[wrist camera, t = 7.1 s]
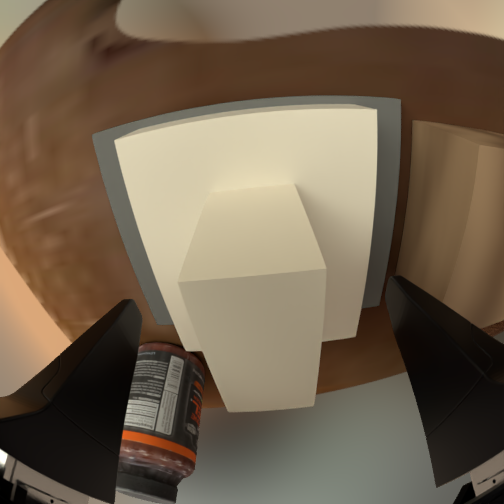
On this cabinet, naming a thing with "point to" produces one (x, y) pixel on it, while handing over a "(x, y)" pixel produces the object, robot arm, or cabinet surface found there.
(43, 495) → the robot arm
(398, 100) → the mat
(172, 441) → the supplement bottle
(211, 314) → the lid
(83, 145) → the cabinet surface
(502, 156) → the storage box
